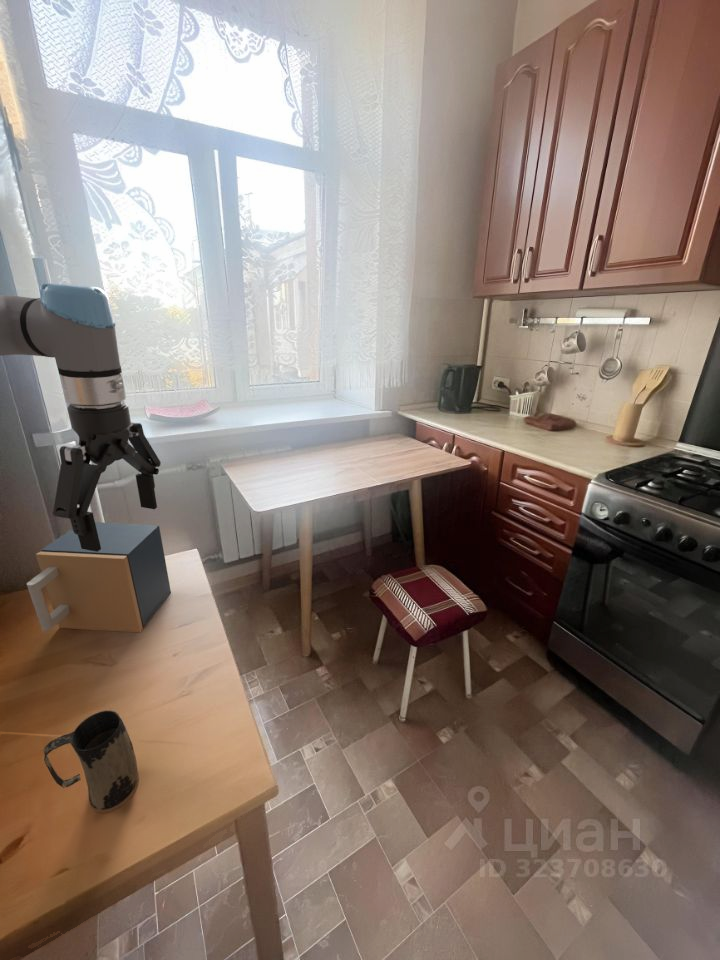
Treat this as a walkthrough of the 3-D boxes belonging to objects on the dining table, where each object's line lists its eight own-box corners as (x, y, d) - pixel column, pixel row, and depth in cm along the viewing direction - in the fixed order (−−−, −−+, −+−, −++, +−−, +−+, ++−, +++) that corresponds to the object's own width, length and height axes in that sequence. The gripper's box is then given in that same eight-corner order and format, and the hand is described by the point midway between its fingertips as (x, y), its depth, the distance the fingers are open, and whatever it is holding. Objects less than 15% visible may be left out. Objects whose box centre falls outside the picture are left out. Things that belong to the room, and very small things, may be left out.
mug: (135, 756, 54) (118, 694, 50) (145, 791, 51) (127, 727, 46) (66, 795, 50) (40, 730, 45) (70, 837, 46) (42, 770, 41)
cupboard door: (123, 654, 71) (104, 576, 65) (37, 649, 71) (9, 571, 65) (143, 628, 77) (127, 555, 70) (62, 624, 77) (40, 551, 71)
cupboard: (143, 628, 77) (127, 554, 71) (64, 624, 77) (40, 549, 71) (171, 592, 87) (159, 525, 81) (100, 589, 87) (83, 521, 81)
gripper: (44, 431, 46) (83, 576, 55) (172, 388, 68) (185, 496, 77) (-12, 422, 46) (36, 567, 55) (133, 383, 69) (150, 490, 78)
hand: (123, 526), depth 66 cm, fingers open, 13 cm apart
